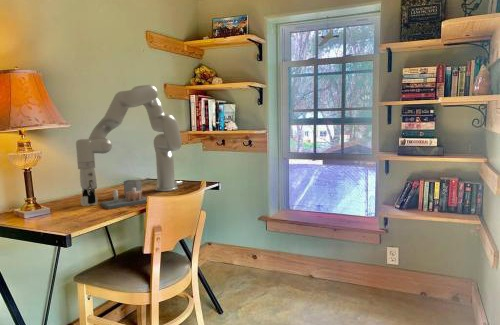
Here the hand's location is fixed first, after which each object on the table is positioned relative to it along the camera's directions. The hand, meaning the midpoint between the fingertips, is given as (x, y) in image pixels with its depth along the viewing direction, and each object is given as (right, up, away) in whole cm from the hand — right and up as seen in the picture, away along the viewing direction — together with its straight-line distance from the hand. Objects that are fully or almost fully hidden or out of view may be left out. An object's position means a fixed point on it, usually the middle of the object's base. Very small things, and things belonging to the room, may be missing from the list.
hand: (89, 201), depth 181 cm
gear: (0, -1, 0) cm, 1 cm away
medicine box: (+17, +1, +14) cm, 22 cm away
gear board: (+18, -1, -1) cm, 18 cm away
